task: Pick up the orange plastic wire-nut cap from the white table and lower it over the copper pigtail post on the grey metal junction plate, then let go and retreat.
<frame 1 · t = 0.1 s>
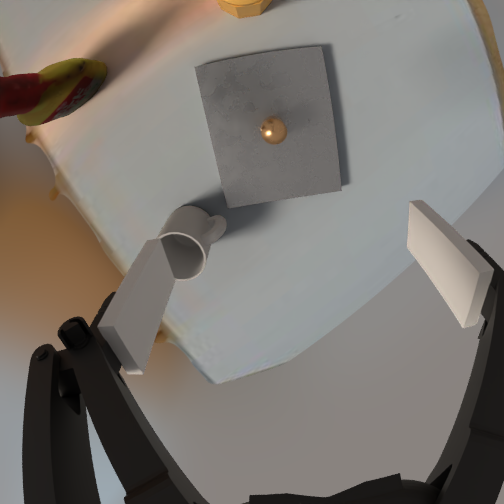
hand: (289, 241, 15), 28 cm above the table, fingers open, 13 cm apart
bottle: (83, 87, 35), on the table
cup: (199, 222, 46), on the table
junction plate: (272, 126, 38), on the table
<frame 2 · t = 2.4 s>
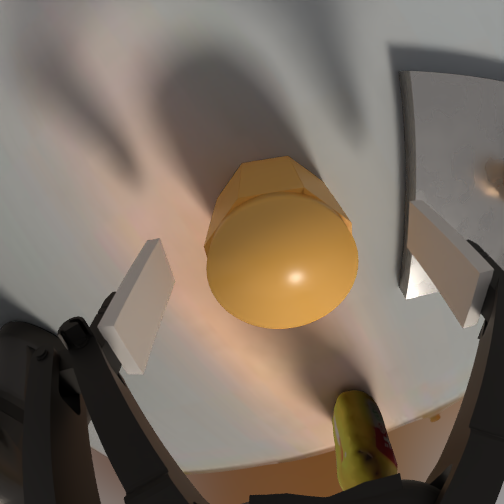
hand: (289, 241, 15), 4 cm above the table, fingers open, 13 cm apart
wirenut: (273, 210, 19), on the table
bottle: (353, 404, 31), on the table
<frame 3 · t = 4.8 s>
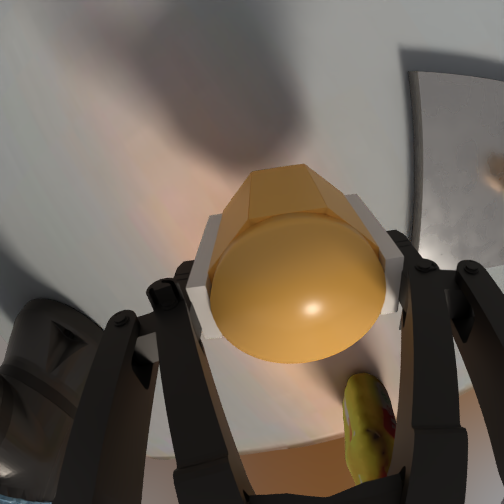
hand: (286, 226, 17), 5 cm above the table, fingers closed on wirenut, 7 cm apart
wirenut: (286, 224, 17), point 5 cm above the table, touching gripper
bottle: (363, 389, 33), on the table
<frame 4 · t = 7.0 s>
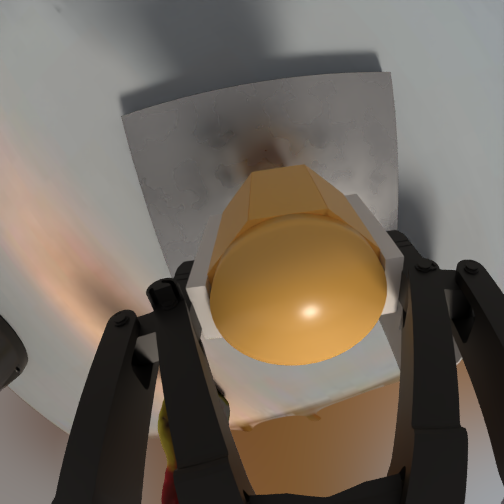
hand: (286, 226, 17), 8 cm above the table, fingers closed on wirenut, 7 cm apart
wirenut: (286, 225, 17), point 8 cm above the table, touching gripper
bottle: (200, 386, 38), on the table
cup: (402, 287, 30), on the table
junction plate: (272, 182, 24), on the table
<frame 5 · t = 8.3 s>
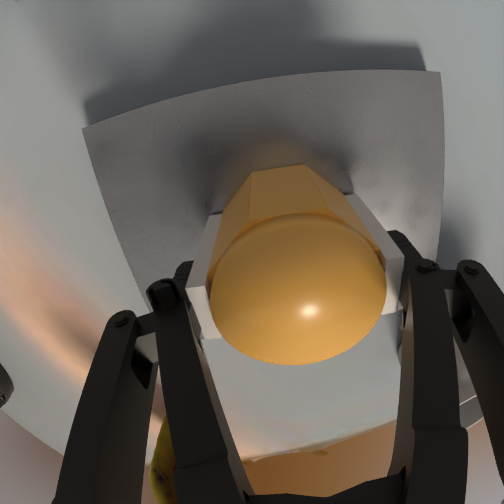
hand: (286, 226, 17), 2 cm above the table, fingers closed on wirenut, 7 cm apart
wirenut: (286, 224, 17), point 2 cm above the table, touching gripper
bottle: (197, 426, 32), on the table
cup: (429, 329, 24), on the table
junction plate: (282, 214, 19), on the table
when the fingers open (2 cm above the table, at t = 9.0 s): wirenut stays where it is, resting on junction plate.
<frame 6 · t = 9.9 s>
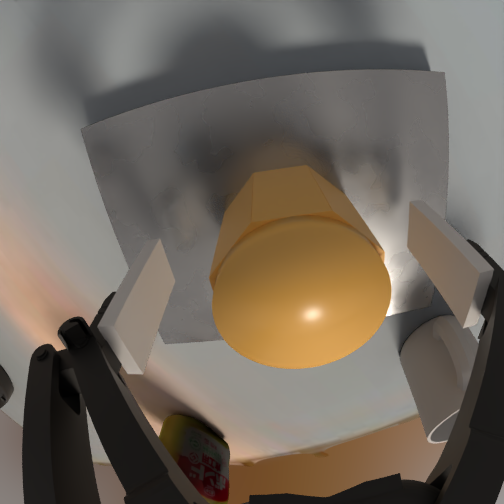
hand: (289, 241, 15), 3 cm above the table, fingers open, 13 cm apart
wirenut: (288, 226, 17), point 1 cm above the table, touching junction plate
bottle: (197, 428, 32), on the table
cup: (431, 331, 24), on the table
junction plate: (284, 215, 18), on the table
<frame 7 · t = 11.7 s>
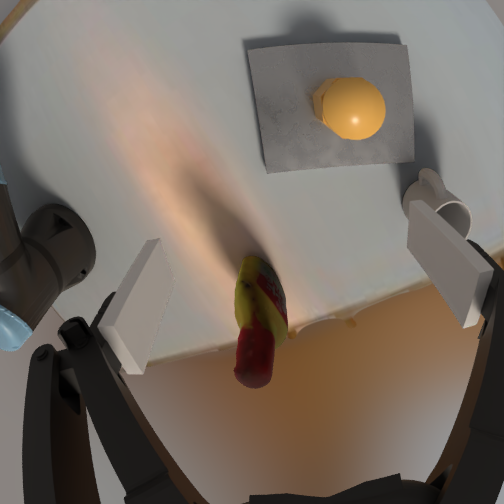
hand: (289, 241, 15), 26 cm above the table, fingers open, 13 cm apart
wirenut: (340, 104, 33), point 1 cm above the table, touching junction plate
bottle: (262, 278, 49), on the table
cup: (420, 191, 40), on the table
junction plate: (337, 103, 35), on the table
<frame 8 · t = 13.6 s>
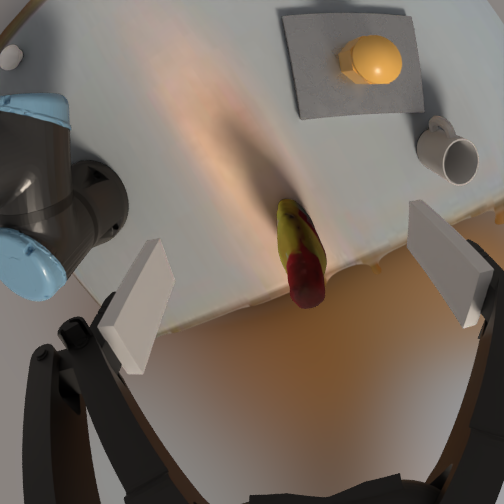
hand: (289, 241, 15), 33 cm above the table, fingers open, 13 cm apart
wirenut: (361, 62, 36), point 1 cm above the table, touching junction plate
bottle: (295, 223, 51), on the table
cup: (430, 140, 43), on the table
mushroom: (19, 56, 34), on the table
junction plate: (357, 62, 37), on the table
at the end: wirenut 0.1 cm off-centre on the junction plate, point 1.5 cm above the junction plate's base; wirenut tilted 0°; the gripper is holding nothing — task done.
